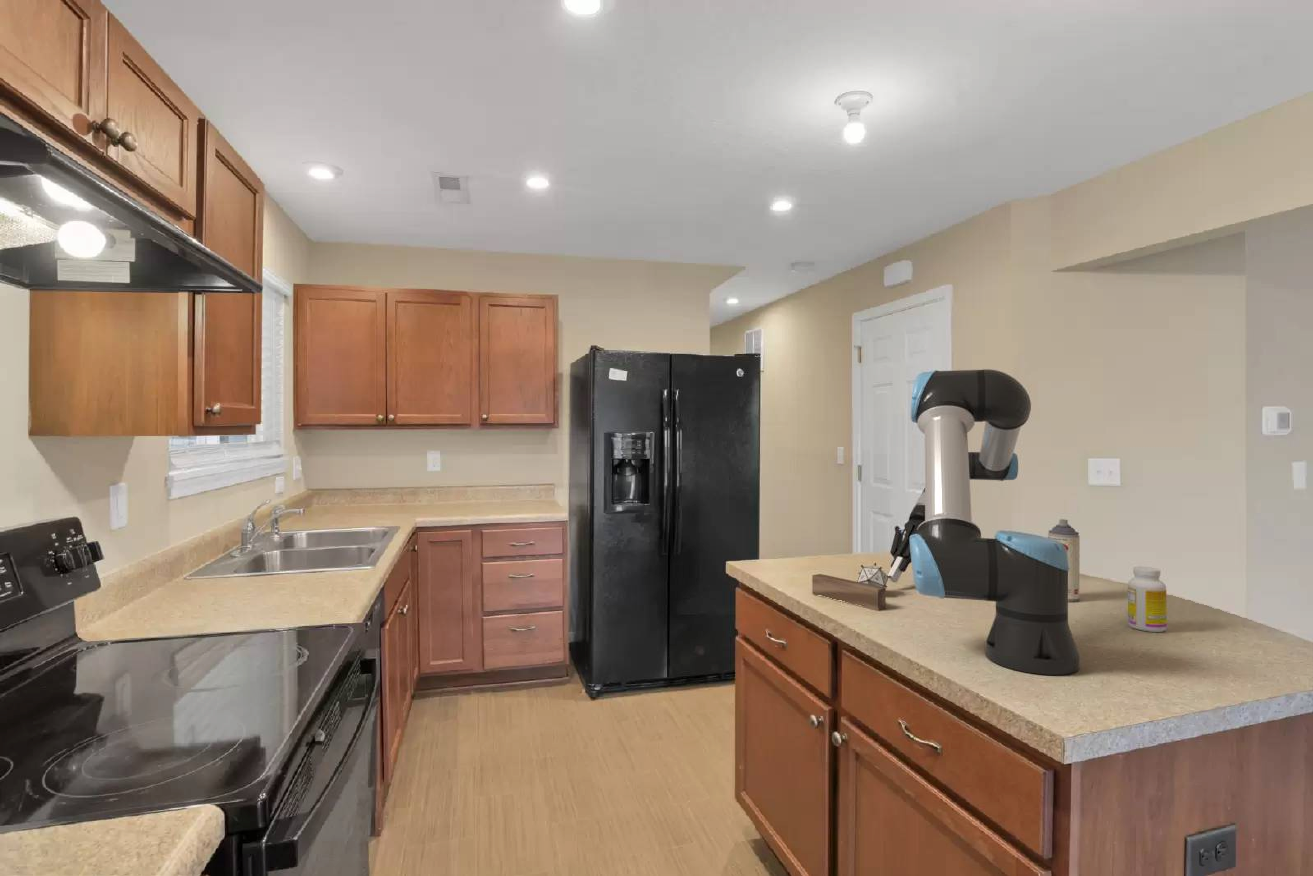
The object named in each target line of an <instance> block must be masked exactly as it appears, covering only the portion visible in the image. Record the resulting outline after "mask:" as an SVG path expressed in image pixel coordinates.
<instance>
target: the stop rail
mask: <svg viewBox="0 0 1313 876" xmlns="http://www.w3.org/2000/svg"><path fill="white" fill-rule="evenodd" d="M811 581H812V586H811V587H812V589H811V590H812V595H813V594H815V595H814V596H817V595H822V596H825V597H829V598H832V599H831V600H833V599H836V600H835V601H837V600H842V601H845V602H849V603H851V604H850V605H853V604H857V605H861V606H863V607H862V608H865V607H866V609H869V608H870V609H869V610H873V609H875V610H874V611H877V610H879V611H882V610H881V609H883V610H885V609H887V607H886V604H887V603H886V602H887V601H886V600H887V599H886V596H887V595H886V594H887V593H886V591H887V590H886V589H887V588H886V587H885V588H884V587H879V586H874V585H870V584H865V583H860V582H857V580H856V581H855V580H850V579H846V578H842V577H837V576H832V575H828V574H822V573H818V574H817V573H816V574H812V580H811ZM825 597H824V598H825ZM829 598H828V599H829ZM845 602H844V603H845ZM849 603H848V604H849ZM857 605H856V606H857ZM861 606H860V607H861Z"/></svg>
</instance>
